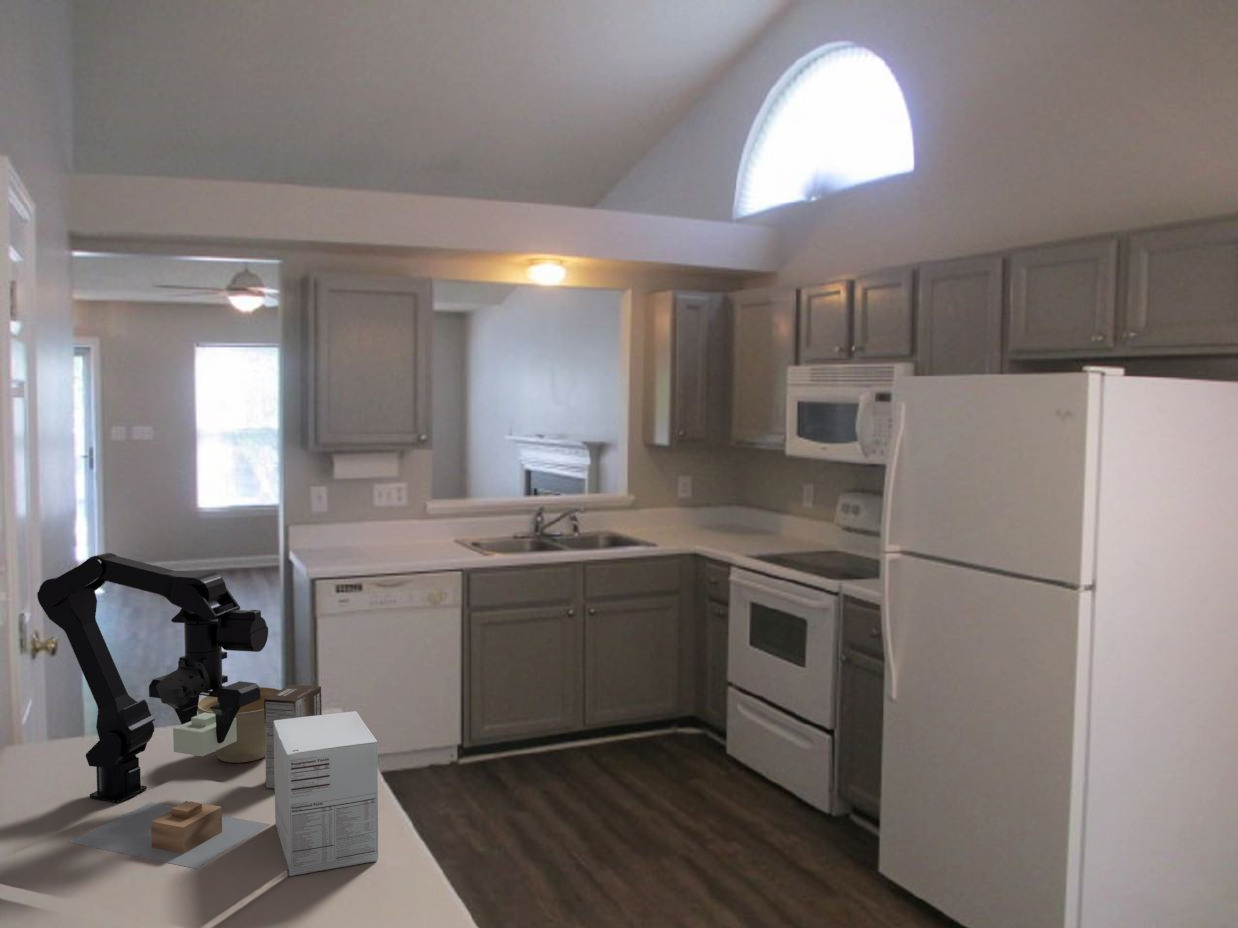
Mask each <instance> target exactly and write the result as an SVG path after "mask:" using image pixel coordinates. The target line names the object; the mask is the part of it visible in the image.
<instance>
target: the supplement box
mask: <svg viewBox="0 0 1238 928" xmlns="http://www.w3.org/2000/svg"><path fill="white" fill-rule="evenodd" d="M273 727H274V779H275V789H274V813H275V814H274V818H275V820H274V823H275V826H276V830H277V834H278V837H279V840H280V844H281V847H282V851H283V854H284V858H285V861H286V865H287V869H286V870H287V874H288V877H292V876H297V875H304V874H310V873H314V872H320V871H321V872H322V871H327V870H328V871H329V870H333V869H340V868H345V867H351V866H356V865H361V864H367V863H368V864H369V863H373V862H377V861H378V860H379V790H378V789H379V785H378V781H379V780H378V777H379V775H378V774H379V773H378V771H379V770H378V769H379V767H378V766H379V765H378V760H379V759H378V758H379V757H378V756H379V755H378V751H379V750H378V747H379V746H378V741H377V739H376V738H375V736H374V734H373V733H372V732H371V731H370V729H369V728H368V726H367V725H366V723H365V722H364V720H363V719H362V717H361V716H360V715H359V714H358V712H357V711H355V710H354V711H346V712H338V713H337V712H335V713H329V714H327V713H326V714H322V715H317V716H308V717H299V718H291V719H282V720H274V721H273Z"/></svg>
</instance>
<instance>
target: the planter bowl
mask: <svg viewBox="0 0 1238 928" xmlns="http://www.w3.org/2000/svg"><path fill="white" fill-rule="evenodd" d="M259 687H260V699H259V700H257V701H255V702H252V703H250V704H247V705H245V706H243V707H240V709H239V711H238V712H237V714H236V716H235V718H236V728H237V741H236V742H234V743H231V744H229V745H227V746H225V747H223V748H220V749H218V750H216V751H215V752H216V758H217V759H218V760H220V761H222V762H225V763H236V764H237V763H248V762H254V761H257V760H261V759H262V758H265V720H264V699H265V698H267V697H269V696H271V695H272V694H274V693H276V692H278V691H280V690H281V689H279V688H275V687H268V686H267V687H266V686H265V687H264V686H259ZM217 704H218V697H210V696H203V697H201V698H199V703H198V711H197V714H198V715H199V714H202V713H204V712H205V713H212V714H215V713H214V712H213V711H212V710H211V709H210V707H212V706H214V705H217Z"/></svg>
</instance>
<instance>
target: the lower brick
mask: <svg viewBox="0 0 1238 928" xmlns="http://www.w3.org/2000/svg"><path fill="white" fill-rule="evenodd" d="M222 812H223V808H222V806H220V805H215V804H207V803H202V802H198V801H197V802H196V801H191V800H190V801H187V800H186V801H184V802H182V803H180V804H177V805H176V806H174V808H172V811H170V812H168V813H166V814H164V815H163V816H161V817H159V818H157V819H155V820H153V821H151V840H152V848H157V849H162V850H167V851H171V852H176V853H181V854H185V853H186V852H188V851H190V850H192V849H193V848H195V847H197V846H199V845H200V844H202V843H204V842H206V841H208V840H209V839H211V838H213V837H215V836H216V835H218V834H220V833H222V815H223V813H222Z"/></svg>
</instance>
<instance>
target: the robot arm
mask: <svg viewBox="0 0 1238 928" xmlns="http://www.w3.org/2000/svg"><path fill="white" fill-rule="evenodd" d="M107 582H109V583H113V584H117V585H121V586H123V587H128V588H131V589H135V590H140V591H144V592H148V593H152V594H155V595H158V596H161V597H163V598H166V600H167V601H168V602H169V603H170V604H172V605H173V606H175V607H177V608H179V609H180V610H179V612H177V614H176V615H174V616H173V617H171V622H172V623H175V624H177V623H178V624H183V631H184V637H183V638H184V655H182V656H180V657H179V659H178V662H177V663H178V665H177V666H178V667H177V669H176V670H174V671H171V672H170V673H168V674H165V675H162V676H159V677H156V678H153V679H152V681H151V682H150V684H149V685H148V696H149V698H153V699H154V698H155V699H160V702H161V703H162V704H164V705H168V706H169V707H170V708H172V709H173V710H174V711H175V713H176V716H177V718H178V720H179V722H180V724H181V725H182V724H185V723H187V722H190V721H191V718H192V717H194V716H197V715H198V703H199V700H200V696H203V697H205V696H210V697H218V704H217V705H214V706H212V707H210V709H211V710H212V711H213V712H214V713H215V715H216V735H217V741H218V743H222V742H224V740H225V738H226V736H227V733H228V731H229V729H230V727H231V724H232V722H233V720H234V718H235V716H236V714H237V712H238V711H239V709H240V707H243V706H245V705H247V704H250V703H252V702H255V701H257V700H259V699H260V687H261V686H259V685H258V683H256V682H249V681H241V680H240V681H237V682H234V683H232V684H228V685H227V686H226V685H225V686H224V685H223V684H225V683H228V682H229V676H228V675H224V674H223V660H224V659H228V652H227V651H231V652H232V651H233V652H234V651H235V652H252V653H253V652H255V653H258V652H259V653H260V652H261V651H262V650H263V649H264V648H265V646H266V644H267V642H268V638H269V637H268V636H269V626H268V625H267V622H266V620H265V619H264V617H262V611H261V610H260V609H250V610H247V609H246V610H244V609H241V606H240V605H239V604H238V602H237V600H236V599H235V598H234V596H233V595H232V594H231V592H230V590H229V589H228V588H227V586H226V582H225V580H224V579H223V576H222V575H221V574H220V573H219V572H218V573H217V572H215V571H211V570H210V571H208V570H207V571H206V570H174V569H171V568H170V569H169V568H165V567H161V566H158V565H154V564H150V563H147V562H142V561H138V560H133V559H131V558H130V559H129V558H126V557H121V556H118V555H116V554H115V553H112V552H105V553H101V554H97V555H93V556H90V557H89V558H87V559H86V560H85V561H83V562H82V563H81V564H79V565H77V566H76V567H73V568H72V569H70V570H69V571H66V572H65V573H63V574H61V575H60V576H56V577H53V578H48V579H46V580H45V581H43V582H42V583H41V585H40V586H39V589H38V591H37V593H36V596H37V601H38V604H39V605H40V607H41V609H42V611H43V612H44V613H45V615H46V616H47V618H48V619H49V620H50V621H51V622H52V623H54V624H55V625H57V626H58V627H59V628H60V629H62V630H63V631H64V633H65V634H66V635H65V636H66V637H67V639H68V642H69V644H70V646H71V649H72V651H73V655H75V658H76V660H77V662H78V665H79V667H80V670H81V672H82V674H83V677H84V679H85V681H86V683H87V686H88V688H89V690H90V692H91V695H92V697H93V699H94V703H95V704H96V707H97V716H96V717H97V719H96V724H95V725H96V733H97V736H98V739H99V740H98V741H97V742H96V743H95V744H94V745H93V746H92V747H91V748H90V749H89V750H88V751H87V752H86V753H85V757H86V761H87V764H88V766H89V767H92V768H93V767H95V768H96V790H95V791H94V792H91V793H89V798H92V799H96V800H103V801H106V802H111V803H120V802H123V801H124V800H127V799H129V798H131V797H133V796H135V795H137V794H139V793H141V792H144V791H146V790H147V789H148V788H147V785H142V783H141V779H142V778H141V767H140V762H139V761H140V758H139V756H137V755H138V754H141V753H142V752H144V751H146V747H147V744H148V743H149V742H150V740H151V739H152V738H153V734H154V732H155V725H154V722H155V721H156V718H155V717H154V716H153V714H152V713H151V711H150V709H149V703H148V702H147V701H146V699H144V698H143V699H141V700H140V701H136V700H135V699H134V698H133V697H132V696H130V694H128V692H127V689H126V687H125V685H124V683H123V680H122V677H121V675H120V673H119V671H118V668H117V666H116V663H115V661H114V659H113V656H112V654H111V653H110V650H109V647H108V646H107V642H106V640H105V638H104V636H103V634H102V632H101V629H100V627H99V625H98V622H97V619H96V618H97V617H96V614H97V607H98V606H97V605H98V599H97V596H96V591H97V590H99V589H100V588H101V587H102V586H104V585H105V584H106V583H107ZM216 605H218V606H216ZM212 606H213V607H212ZM214 606H215V607H214ZM222 650H224V651H222Z"/></svg>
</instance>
